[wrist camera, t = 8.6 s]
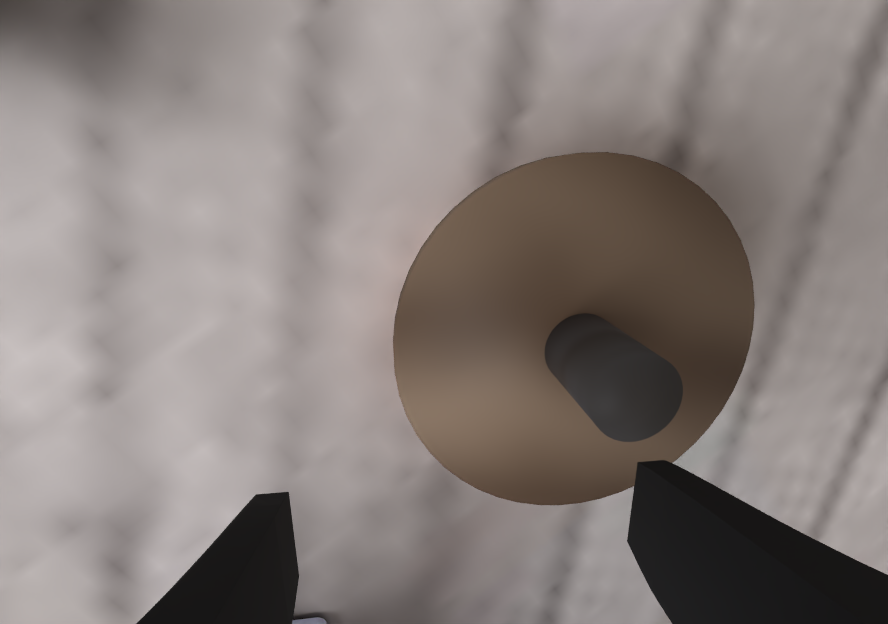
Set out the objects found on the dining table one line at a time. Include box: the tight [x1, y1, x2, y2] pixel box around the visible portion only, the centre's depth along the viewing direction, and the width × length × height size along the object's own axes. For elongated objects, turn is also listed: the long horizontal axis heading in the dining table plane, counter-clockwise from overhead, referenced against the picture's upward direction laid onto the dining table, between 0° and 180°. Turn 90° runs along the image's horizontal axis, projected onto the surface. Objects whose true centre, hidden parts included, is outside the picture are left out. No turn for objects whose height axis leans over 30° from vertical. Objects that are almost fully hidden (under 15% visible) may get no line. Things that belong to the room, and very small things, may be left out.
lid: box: [393, 152, 754, 505], centre depth 13 cm, size 12×12×4 cm
